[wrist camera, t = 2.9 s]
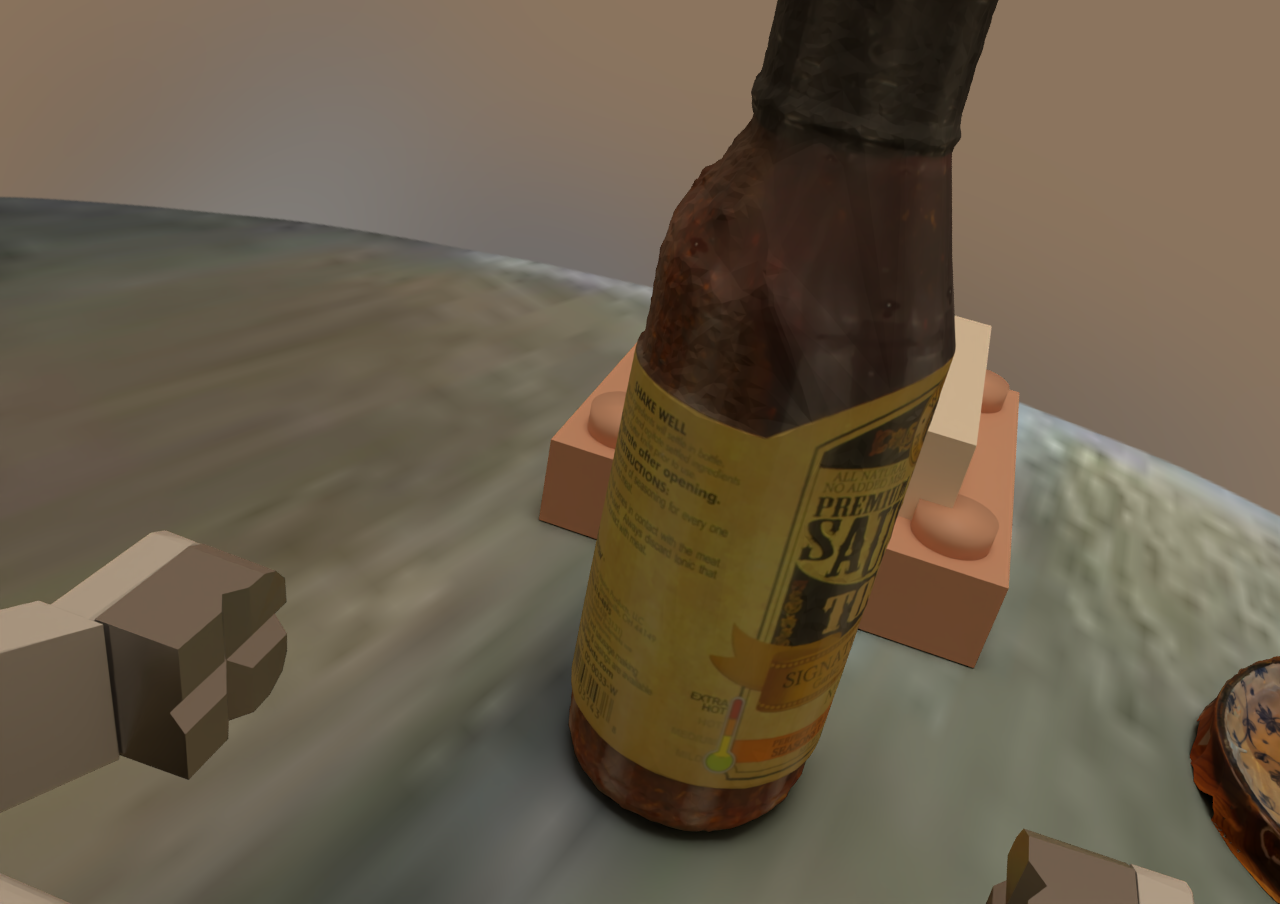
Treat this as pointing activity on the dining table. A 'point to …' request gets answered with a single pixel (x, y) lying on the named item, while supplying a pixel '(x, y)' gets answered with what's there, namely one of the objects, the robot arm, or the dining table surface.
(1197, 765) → the burger
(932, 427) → the brick stack
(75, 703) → the robot arm
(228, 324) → the dining table surface
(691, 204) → the sauce bottle
